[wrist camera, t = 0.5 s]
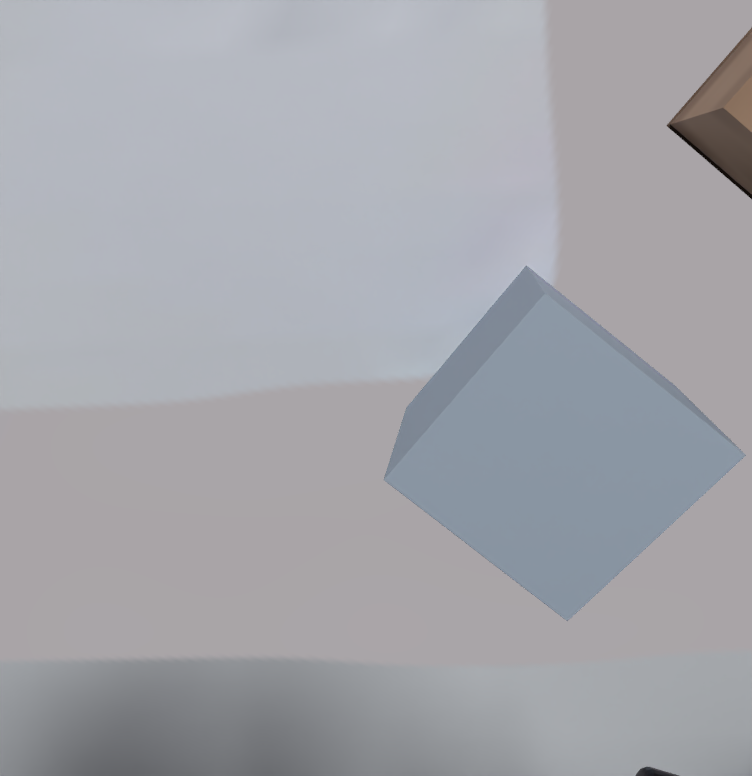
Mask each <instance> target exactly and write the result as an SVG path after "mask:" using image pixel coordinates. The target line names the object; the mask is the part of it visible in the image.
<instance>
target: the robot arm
mask: <svg viewBox="0 0 752 776" xmlns="http://www.w3.org/2000/svg"><path fill="white" fill-rule="evenodd" d="M636 776H679V775H675V774H672V773H668V772H665V771H662V770H658V769H655V768H651V767H645V768H642V769H640V770H639V771H638V773H637V774H636Z"/></svg>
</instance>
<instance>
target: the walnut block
mask: <svg viewBox="0 0 752 776" xmlns="http://www.w3.org/2000/svg"><path fill="white" fill-rule="evenodd" d="M667 127H668V128H670V129H671V130H672V131H673V132H674V133H675V134H677V135H678V136H679V137H680V138H681V139H682V140H684V141H685V142H686V143H687V144H688V145H689V146H691V147H692V148H693V149H694V150H695V151H696V152H697V153H699V154H700V155H701V156H702V157H703V158H705V159H706V160H707V161H708V162H709V163H710V164H711V165H713V166H714V167H715V168H716V169H717V170H718V171H719V172H721V173H722V174H723V175H724V176H725V177H726V178H728V179H729V180H730V181H731V182H732V183H733V184H735V185H736V186H737V187H738V188H739V189H740V190H741V191H743V192H744V193H745V194H746V195H747V196H748V197H750V198H751V199H752V28H751V29H750V30H749V31H748V32H747V34H746V35H745V36H744V37H743V38H742V39H741V40H740V41H739V43H738V44H737V45H736V46H735V47H734V48H733V49H732V51H731V52H730V53H729V54H728V55H727V56H726V58H725V59H724V60H723V61H722V62H721V63H720V64H719V66H718V67H717V68H716V69H715V70H714V71H713V72H712V74H711V75H710V76H709V77H708V78H707V79H706V81H705V82H704V83H703V84H702V85H701V86H700V87H699V89H698V90H697V91H696V92H695V93H694V94H693V95H692V97H691V98H690V99H689V100H688V101H687V102H686V104H685V105H684V106H683V107H682V108H681V109H680V111H679V112H678V113H677V114H676V115H675V116H674V118H672V120H671V121H670V122H669V123H668V124H667Z"/></svg>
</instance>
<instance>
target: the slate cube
mask: <svg viewBox="0 0 752 776" xmlns="http://www.w3.org/2000/svg"><path fill="white" fill-rule="evenodd" d="M744 456H746V455H745V454H744V453H743V452H742V451H741V450H740V449H739V448H738V447H737V446H736V445H735V444H734V443H733V442H732V441H731V440H730V439H729V438H728V437H727V436H726V435H725V434H724V433H723V432H722V431H721V430H720V429H718V427H717V426H716V425H715V424H714V423H712V422H711V421H710V420H709V419H708V418H707V417H706V416H705V415H704V414H703V413H702V412H701V411H700V410H699V409H698V408H697V407H696V406H695V405H694V404H693V403H692V402H691V401H690V400H689V399H688V398H687V397H686V396H685V395H684V394H683V393H682V392H681V391H680V390H679V389H678V388H677V387H676V386H675V385H673V383H671V382H670V381H669V380H667V379H666V378H665V377H664V376H663V375H661V374H660V373H659V372H658V371H656V370H655V369H654V368H653V367H651V366H650V365H649V364H648V363H646V362H645V361H644V360H643V359H642V358H640V357H639V356H638V355H637V354H635V353H634V352H633V351H632V350H630V349H629V348H628V347H627V346H625V345H624V344H623V343H622V342H620V341H619V340H618V339H617V338H615V337H614V336H613V335H612V334H611V333H609V332H608V331H607V330H606V329H604V328H603V327H602V326H601V325H599V324H598V323H597V322H596V321H594V320H593V319H592V318H591V317H590V316H588V315H587V314H586V313H585V312H583V311H582V310H581V309H580V308H578V307H577V306H576V305H575V304H573V303H572V302H571V301H570V300H569V299H567V298H566V297H565V296H564V295H562V294H561V293H560V292H559V291H557V290H556V289H555V288H554V287H553V286H551V285H550V284H549V283H547V282H546V281H545V280H544V279H542V278H541V277H540V276H539V275H537V274H536V273H535V272H534V271H533V270H531V269H530V268H529V267H528V266H526V267H525V268H524V269H523V270H522V271H521V273H520V274H519V275H518V276H517V277H516V278H515V280H514V281H513V282H512V283H511V284H510V286H509V287H508V288H507V289H506V290H505V292H504V293H503V294H502V295H501V296H500V297H499V299H498V300H497V301H496V302H495V303H494V305H493V306H492V307H491V308H490V309H489V311H488V312H487V313H486V314H485V315H484V316H483V318H482V319H481V320H480V321H479V322H478V324H477V325H476V326H475V327H474V328H473V330H472V331H471V332H470V333H469V334H468V336H467V337H466V338H465V339H464V340H463V341H462V343H461V344H460V345H459V346H458V347H457V349H456V350H455V351H454V352H453V353H452V355H451V356H450V357H449V358H448V359H447V360H446V362H445V363H444V364H443V365H442V366H441V368H440V369H439V370H438V371H437V372H436V374H435V375H434V376H433V377H432V378H431V379H430V380H429V381H428V383H427V384H426V385H425V386H424V387H423V389H422V390H421V391H420V392H419V393H418V395H417V396H416V397H415V398H414V399H413V401H412V402H411V403H410V404H409V405H408V407H407V408H406V411H405V414H404V417H403V420H402V424H401V427H400V430H399V433H398V436H397V440H396V443H395V446H394V449H393V452H392V455H391V458H390V462H389V465H388V468H387V471H386V474H385V477H384V480H385V481H386V482H387V483H388V484H390V485H391V486H392V487H394V488H395V489H396V490H398V491H399V492H400V493H401V494H403V495H404V496H405V497H407V498H408V499H409V500H411V501H412V502H413V503H414V504H416V505H417V506H419V507H420V508H421V509H422V510H424V511H425V512H426V513H428V514H429V515H430V516H431V517H433V518H434V519H435V520H437V521H438V522H439V523H441V524H442V525H443V526H444V527H446V528H447V529H448V530H450V531H451V532H453V534H455V535H456V536H457V537H459V538H460V539H462V540H463V541H464V542H465V543H466V544H468V545H469V546H470V547H472V548H473V549H474V550H476V551H477V552H478V553H480V554H481V555H482V556H483V557H485V558H486V559H487V560H489V561H490V562H491V563H492V564H494V565H495V566H497V567H498V568H499V569H500V570H502V571H503V572H504V573H505V574H507V575H508V576H509V577H511V578H512V579H513V580H515V581H516V582H517V583H519V584H520V585H521V586H523V587H524V588H525V589H526V590H528V591H529V592H530V593H531V594H533V595H534V596H535V597H537V598H538V599H539V600H541V601H542V602H543V603H544V604H546V605H547V606H548V607H550V608H551V609H552V610H554V611H555V612H556V613H558V614H559V615H560V616H561V617H563V618H564V619H566V620H567V621H568V620H569V619H570V618H571V617H572V616H573V615H574V614H576V613H577V612H578V611H579V610H580V609H581V608H582V607H583V606H584V605H585V604H586V603H587V602H589V601H590V600H591V599H592V598H593V597H594V596H595V595H596V594H597V593H598V592H599V591H600V590H601V589H602V588H604V587H605V586H606V585H607V584H608V583H609V582H610V581H611V580H612V579H613V578H614V577H615V576H617V575H618V574H619V573H620V572H621V571H622V570H623V569H624V568H625V567H626V566H627V565H628V564H629V563H631V562H632V561H633V560H634V559H635V558H636V557H637V556H638V555H639V554H640V553H641V552H642V551H643V550H644V549H646V548H647V547H648V546H649V545H650V544H651V543H652V542H653V541H654V540H655V539H656V538H657V537H659V536H660V535H661V534H662V533H663V532H664V531H665V530H666V529H667V528H668V527H669V526H670V525H671V524H673V523H674V522H675V521H676V520H677V519H678V518H679V517H680V516H681V515H682V514H683V513H684V512H685V511H686V510H688V509H689V508H690V507H691V506H692V505H693V504H694V503H695V502H696V501H697V500H698V499H699V498H700V497H701V496H703V495H704V494H705V493H706V492H707V491H708V490H709V489H710V488H711V487H712V486H713V485H714V484H716V483H717V482H718V481H719V480H720V479H721V478H722V477H723V476H724V475H725V474H726V473H727V472H728V471H730V470H731V469H732V468H733V467H734V466H735V465H736V464H737V463H738V462H739V461H740V460H741V459H742V458H743V457H744Z"/></svg>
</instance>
